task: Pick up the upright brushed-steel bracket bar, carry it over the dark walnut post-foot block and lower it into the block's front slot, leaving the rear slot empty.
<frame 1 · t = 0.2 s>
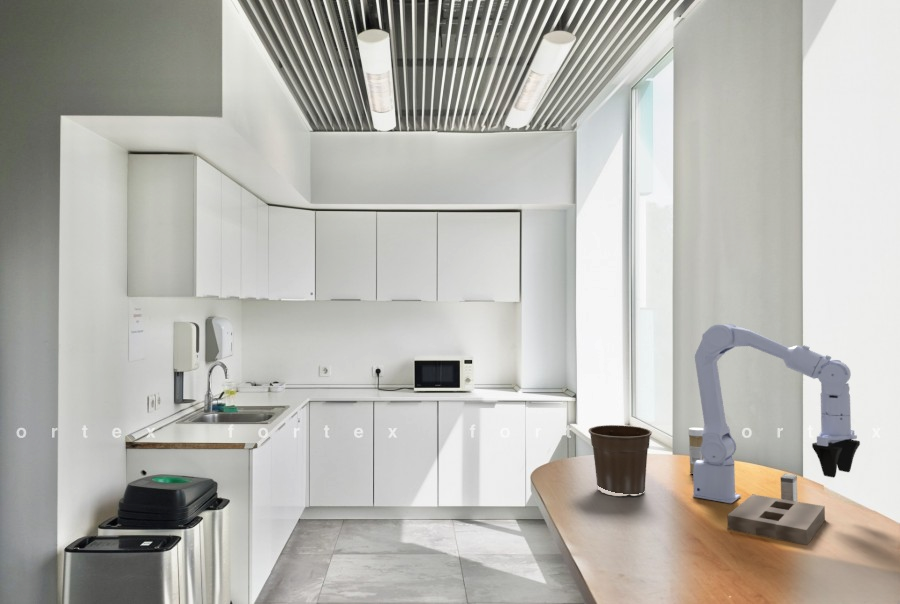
hand: (836, 473, 138), 10 cm above the table, fingers open, 7 cm apart
plant pot: (620, 492, 161), on the table
sprinkles bottle: (698, 475, 177), on the table
steel bracket: (789, 505, 147), on the table
post foot: (777, 524, 134), on the table
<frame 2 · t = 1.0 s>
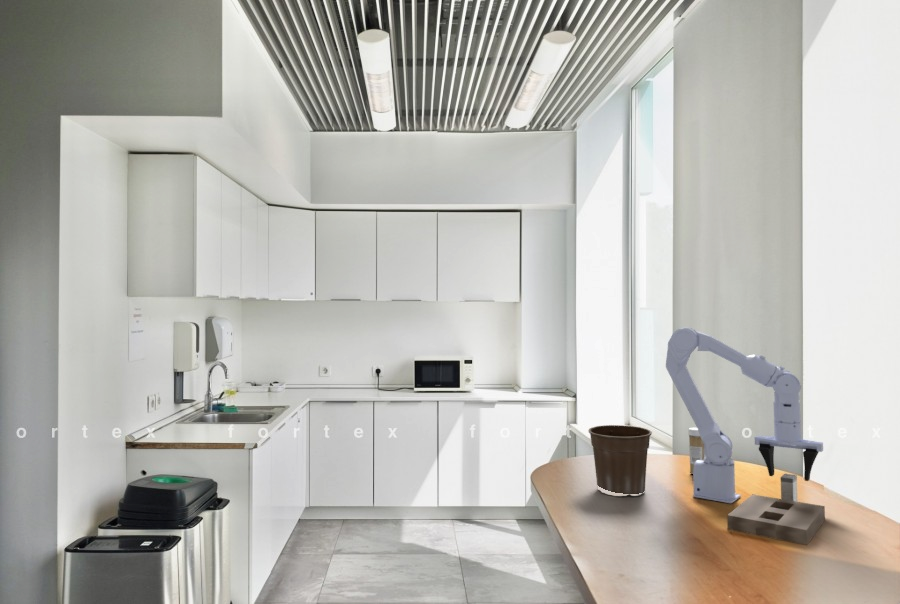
hand: (789, 477, 148), 7 cm above the table, fingers open, 7 cm apart
nothing on the table moved.
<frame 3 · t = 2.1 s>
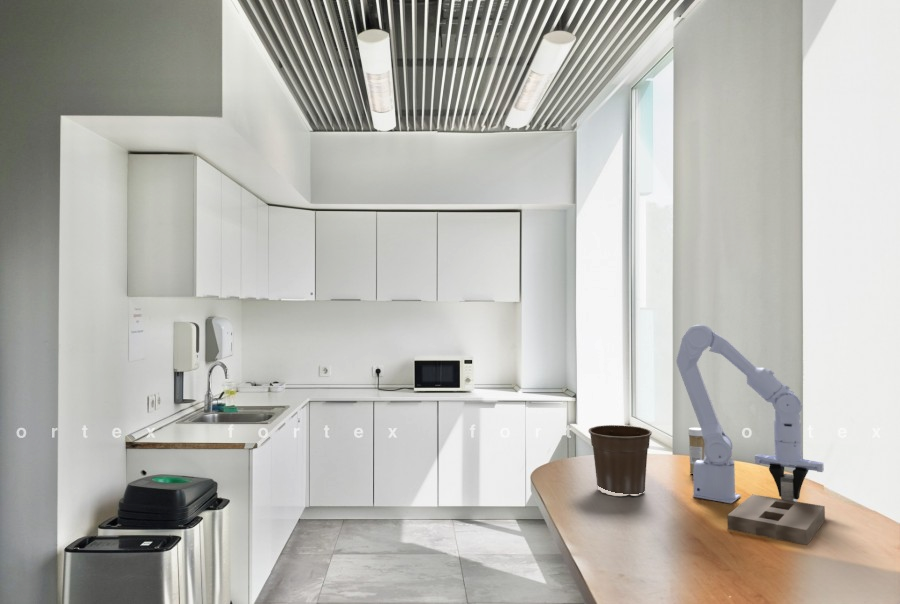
hand: (789, 497, 147), 2 cm above the table, fingers closed on steel bracket, 3 cm apart
steel bracket: (789, 505, 147), on the table, touching gripper
everything else where it was.
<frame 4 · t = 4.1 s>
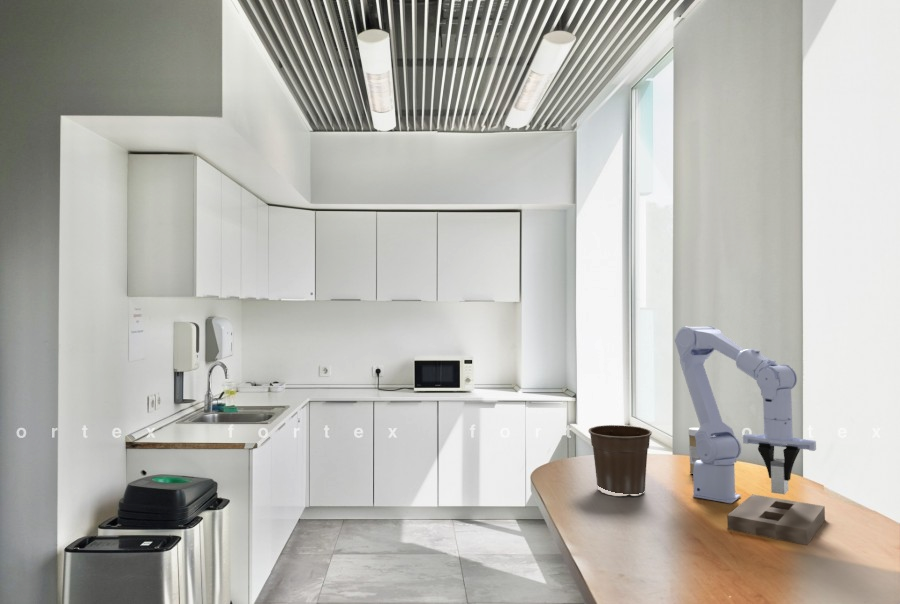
hand: (779, 478, 138), 9 cm above the table, fingers closed on steel bracket, 3 cm apart
steel bracket: (780, 491, 138), point 6 cm above the table, touching gripper
everything else where it was.
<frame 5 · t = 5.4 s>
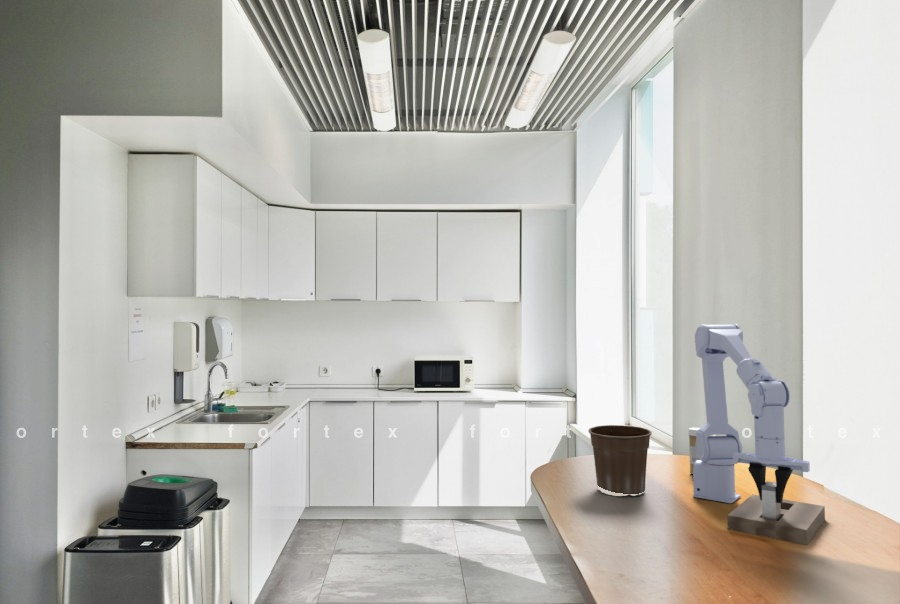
hand: (771, 500, 130), 6 cm above the table, fingers closed on steel bracket, 3 cm apart
steel bracket: (771, 517, 130), point 3 cm above the table, touching gripper
everything else where it was.
when the fingers open (4 cm above the table, at t = 6.2 s): steel bracket stays where it is, resting in post foot.
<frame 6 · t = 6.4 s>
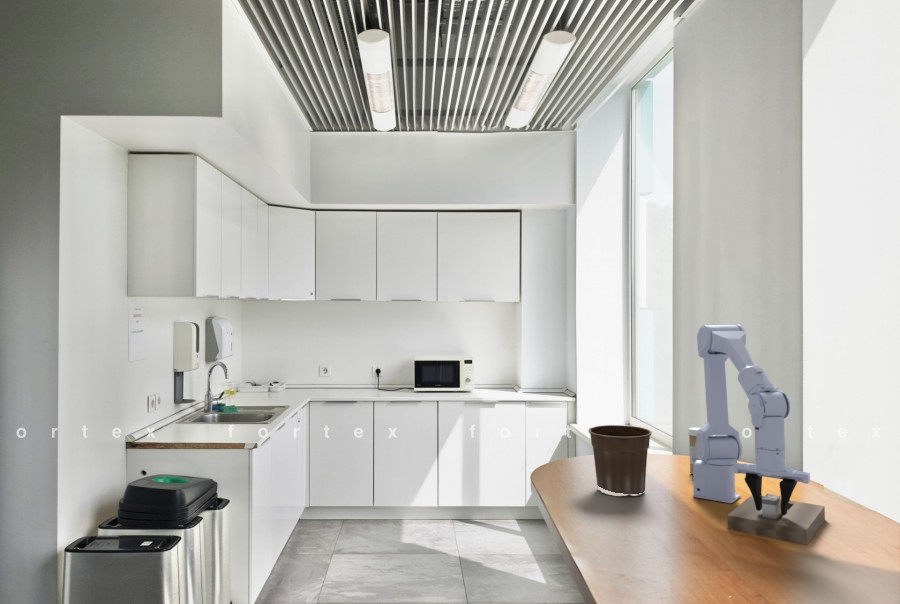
hand: (771, 511, 130), 4 cm above the table, fingers open, 4 cm apart
steel bracket: (771, 530, 130), resting in post foot
everything else where it was.
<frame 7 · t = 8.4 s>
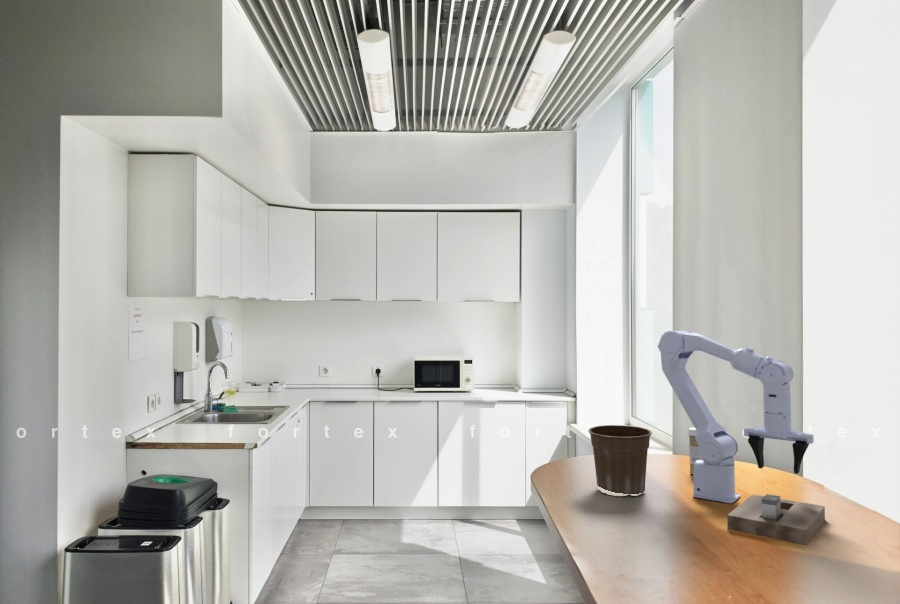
hand: (778, 470, 144), 9 cm above the table, fingers open, 7 cm apart
nothing on the table moved.
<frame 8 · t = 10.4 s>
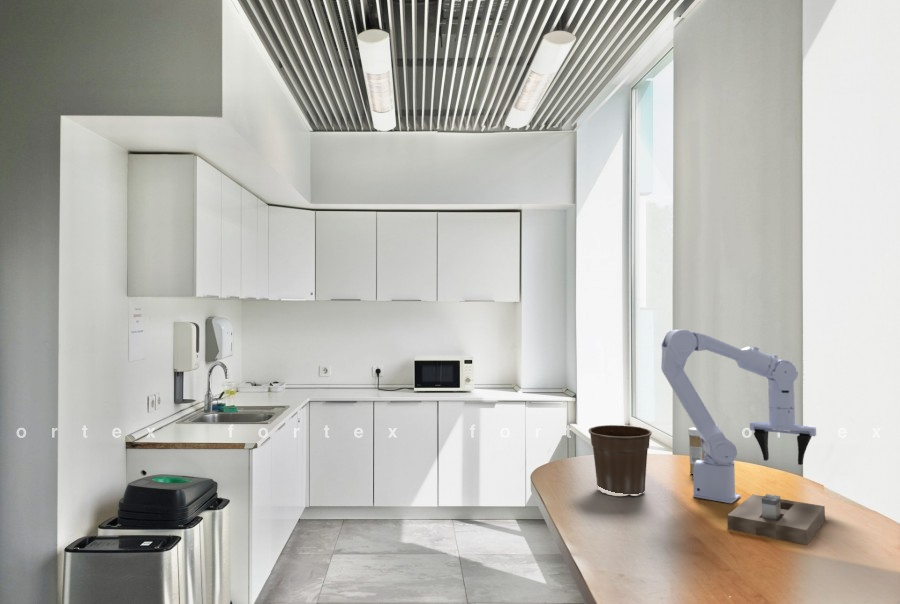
hand: (783, 461, 152), 9 cm above the table, fingers open, 7 cm apart
nothing on the table moved.
at the end: steel bracket 0.1 cm from the target spot on the post foot, point 0.0 cm above the post foot's base; steel bracket tilted 0°; the gripper is holding nothing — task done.
